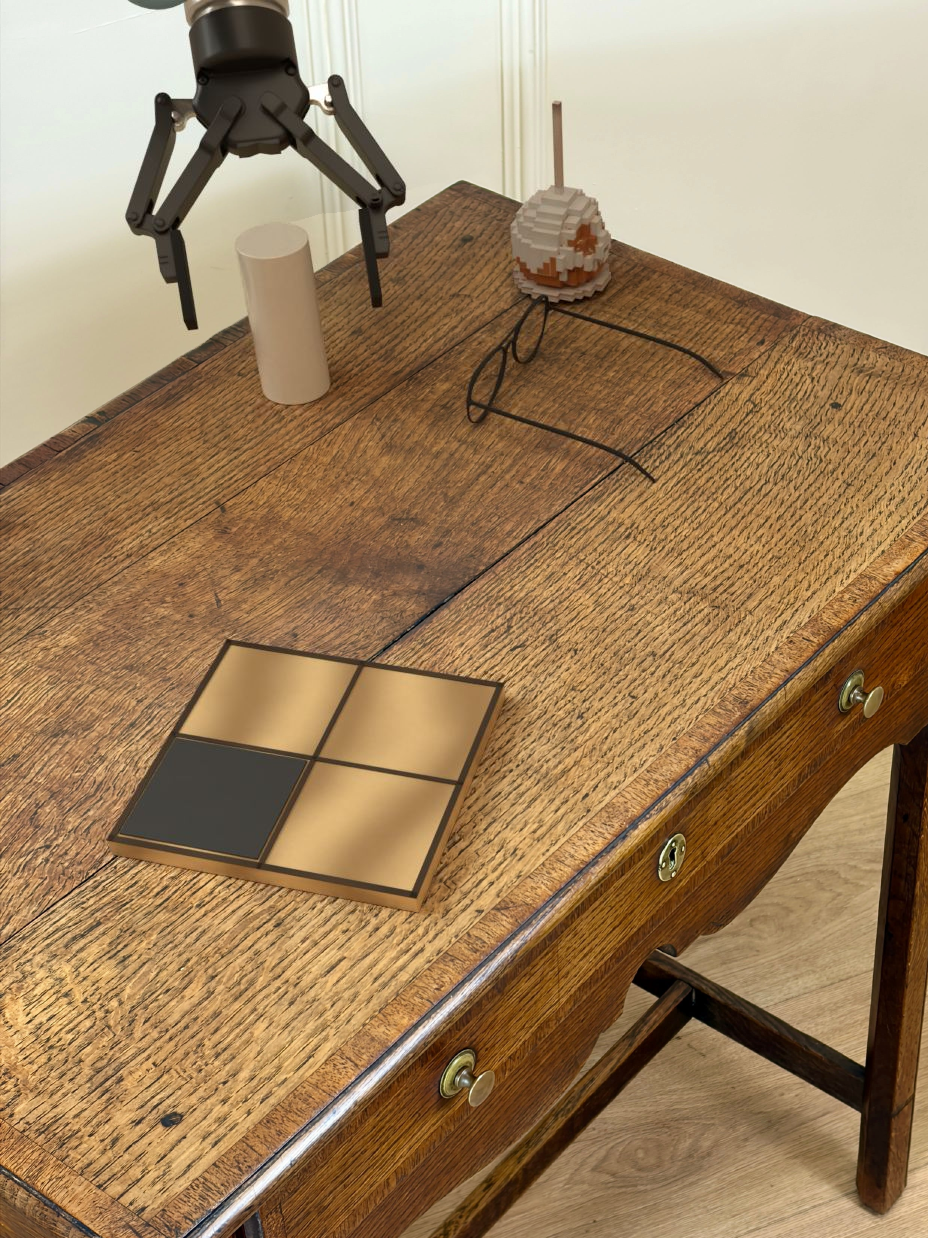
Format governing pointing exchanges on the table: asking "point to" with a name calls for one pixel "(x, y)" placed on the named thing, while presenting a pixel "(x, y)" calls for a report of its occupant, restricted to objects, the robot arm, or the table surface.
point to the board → (313, 774)
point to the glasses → (514, 341)
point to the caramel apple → (560, 237)
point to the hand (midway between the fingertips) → (284, 314)
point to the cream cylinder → (283, 312)
